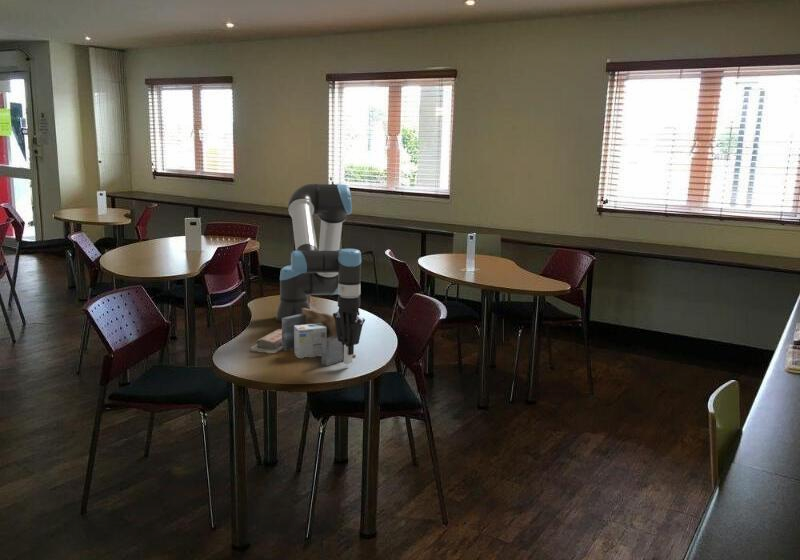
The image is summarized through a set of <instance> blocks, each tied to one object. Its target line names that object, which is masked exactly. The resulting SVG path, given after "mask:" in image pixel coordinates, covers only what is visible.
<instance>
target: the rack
mask: <svg viewBox="0 0 800 560" xmlns="http://www.w3.org/2000/svg"><path fill="white" fill-rule="evenodd" d="M317 323H322V324H323V325H324V326H326V327H327V338H328V337H332V336H335V335H337V330H336V324H335V319H334V317H333V314H329V313H325V312H321V311H317V310H313V309H311V308H310V309H306V308H302V314H298V315H293V316H289V317H285V318H282V322H281V329H282V349H283V350H282V351H284V350H285V351H284V352H289V351H291V349H293V350H294V325H306V324H317ZM288 350H289V351H288ZM356 356H357V355H356V354H355V353H353V354H352V358H353V359H355V357H356ZM343 357H344V353H343ZM356 358H357V357H356Z"/></svg>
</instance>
